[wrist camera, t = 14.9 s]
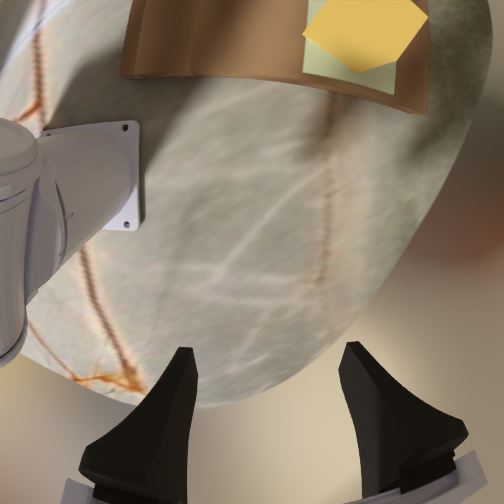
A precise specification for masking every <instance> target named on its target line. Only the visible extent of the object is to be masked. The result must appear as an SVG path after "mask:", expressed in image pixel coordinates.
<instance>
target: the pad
mask: <svg viewBox="0 0 504 504" xmlns="http://www.w3.org/2000/svg"><path fill="white" fill-rule="evenodd" d="M327 1H328V0H308V12H307V25H306V28H307V27H308V25H309V24H310V22H311V21H312V20H313V18H314V17H315V16H316V14H317V13H318V12H319V10H320V9H321V8H322V6H323V5H324V4H325V3H326V2H327ZM302 72H303V73H309V74H314V75H319V76H324V77H329V78H333V79H337V80H342V81H346V82H350V83H353V84H357V85H361V86H364V87H368V88H371V89H375V90H378V91H381V92H384V93H387V94H390V95H394V88H395V75H396V61H395V62H391V63H388V64H385V65H382V66H379V67H376V68H373V69H370V70H367V71H364V72H361V73H358V74H355V73H354V72H353V71H351V70H350V69H349V68H348V67H346V66H345V65H344V64H343V63H341V62H340V61H339V60H337V59H336V58H335V57H333V56H332V55H331V54H329V53H328V52H327V51H325V50H324V49H322V48H321V47H320V46H318V45H317V44H315V43H314V42H312V41H311V40H309V39H308V38H306V37H305V48H304V59H303V69H302Z"/></svg>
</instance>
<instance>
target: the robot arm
mask: <svg viewBox="0 0 504 504" xmlns="http://www.w3.org/2000/svg"><path fill="white" fill-rule="evenodd" d="M125 124H127V125H128V130H127V131H125V130H124V125H125ZM49 134H50V135H51V136H49ZM139 137H140V124H139V123H138V122H137V121H135V120H129V121H115V122H104V123H94V124H86V125H78V126H71V127H64V128H58V129H52V130H47V131H42V132H39V133H38V134H37V136H36V139H35V138H34V136H33V134H32V133H31V132H30V131H29V130H28V129H27V128H25V127H24V126H22V125H20V124H18V123H15V122H13V121H10V120H7V119H3V118H0V369H1V368H3V367H4V366H6V365H7V364H9V363H10V362H11V361H12V360H13V359H14V358H15V357H16V356H17V355H18V353H19V352H20V350H21V348H22V346H23V344H24V342H25V339H26V335H27V329H28V319H27V312H26V306H25V305H27V304H28V303H29V302H30V301H31V300H32V299H33V298H34V296H35V295H36V294H37V293H38V288H40V287H41V286H42V285H43V284H45V283H46V282H47V281H48V280H49V279H50V278H51V277H52V276H53V275H54V274H55V273H56V272H57V271H58V270H59V269H60V268H61V267H62V266H63V265H64V264H65V263H66V262H67V261H68V260H69V259H70V258H71V257H72V256H73V255H74V254H75V253H76V252H77V251H78V250H79V249H80V248H81V247H82V246H83V245H84V244H85V243H86V242H87V241H89V240H90V239H91V238H92V237H93V236H94V235H95V234H96V233H97V232H98V231H100V230H101V229H105V230H123V231H136V230H138V229H139V227H140V224H141V223H140V201H139ZM126 221H127V222H129V224H130V226H127V225H126V223H125V222H126ZM338 370H339V376H340V382H341V387H342V390H343V393H344V396H345V399H346V402H347V405H348V408H349V411H350V414H351V417H352V420H353V424H354V427H355V431H356V437H357V442H358V448H359V456H360V464H361V476H362V498H363V499H361V500H357V501H354V502H349V503H345V504H460V503H461V502H463V501H465V500H466V499H468V498H469V497H471V496H472V495H474V494H475V493H477V492H478V491H480V490H481V489H483V488H484V487H486V486H487V485H488V482H487V479H486V477H485V474H484V472H483V469H482V466H481V464H480V462H479V459H478V457H477V454H476V452H475V450H473V451H471V452H469V453H468V454H466V455H464V456H462V457H460V458H459V459H457V460H456V461H454V460H453V457H454V456H455V453H454V449H455V448H456V447H458V446H459V445H460V444H461V443H462V442H463V441H464V440H465V439H466V438H467V437H468V435H469V433H468V431H467V429H466V427H465V424H464V422H463V421H462V420H460V419H458V418H455V417H453V416H450V415H448V414H446V413H443V412H441V411H439V410H437V409H436V408H433V407H432V406H430V405H429V404H427V403H425V402H424V401H422V400H421V399H419V398H418V397H416V396H415V395H413V394H412V393H411V392H409V391H408V390H407V389H406V388H404V387H403V386H402V385H401V384H400V383H399V382H397V381H396V380H395V379H394V378H393V377H392V376H391V375H390V374H389V373H388V372H387V371H386V370H385V369H384V368H383V367H382V366H381V365H380V364H379V363H378V362H377V361H376V360H375V359H374V357H373V356H372V355H371V354H370V353H369V352H368V351H367V350H366V349H365V348H364V347H363V345H361V343H360V342H359V341H355V342H347V344H346V347H345V350H344V354H343V357H342V360H341V363H340V366H339V369H338ZM197 384H198V372H197V368H196V363H195V358H194V353H193V348H189V347H179V348H178V349H177V351H176V353H175V354H174V356H173V358H172V360H171V361H170V363H169V365H168V366H167V368H166V369H165V371H164V372H163V374H162V375H161V377H160V378H159V380H158V381H157V383H156V384H155V385H154V387H153V388H152V389H151V391H150V392H149V393H148V395H147V396H146V397H145V398H144V399H143V400H142V402H141V403H140V404H139V405H138V406H137V407H136V408H135V409H134V410H133V411H132V412H131V413H130V414H129V415H128V416H127V417H126V418H125V419H124V420H123V421H122V422H121V423H119V424H118V425H117V426H116V427H114V428H113V429H112V430H111V431H109V432H108V433H107V434H105V435H104V436H102V437H101V438H99V439H98V440H96V441H95V442H93V443H91V444H90V445H88V446H87V447H86V449H85V451H84V453H83V455H82V459H81V462H80V465H79V469H78V470H79V471H80V473H81V474H82V475H83V476H85V477H86V478H88V479H89V480H90V481H92V482H93V483H95V487H94V488H92V487H90V486H87V485H84V484H82V483H79V482H77V481H74V480H71V479H69V478H68V479H67V480H66V483H65V488H64V491H63V495H62V499H61V503H60V504H187V458H188V440H189V432H190V427H191V422H192V416H193V411H194V406H195V401H196V395H197Z"/></svg>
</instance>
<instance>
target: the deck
mask: <svg viewBox="0 0 504 504" xmlns="http://www.w3.org/2000/svg"><path fill="white" fill-rule="evenodd" d="M411 1H412V2H413V3H414V4H415V5H416V6H417V7H418V8H419V9H420V10H422V11H423V12H424V13H425V14H426V15H427V16H428V4H427V0H411ZM307 12H308V0H133V2H132V6H131V11H130V15H129V20H128V25H127V30H126V36H125V42H124V48H123V55H122V62H121V70H120V76H121V77H124V78H128V79H131V80H134V79H145V78H159V77H189V76H201V77H232V78H246V79H257V80H267V81H275V82H283V83H290V84H297V85H303V86H308V87H314V88H319V89H324V90H329V91H334V92H338V93H342V94H347V95H351V96H355V97H358V98H362V99H366V100H370V101H373V102H376V103H380V104H383V105H386V106H389V107H393V108H396V109H399V110H402V111H404V112H407V113H410V114H422V115H426V111H427V101H428V87H429V64H430V38H429V17H428V18H427V20H426V21H425V23H424V24H423V25H422V27H421V28H420V29H419V31H418V32H417V34H416V35H415V36H414V38H413V39H412V40H411V42H410V43H409V45H408V46H407V47H406V49H405V50H404V51H403V53H402V54H401V56H400V57H399V58H398V60H397V61H396V75H395V88H394V95H390V94H387V93H384V92H381V91H378V90H375V89H371V88H368V87H364V86H361V85H357V84H353V83H350V82H346V81H342V80H337V79H333V78H329V77H324V76H319V75H314V74H309V73H303V72H302V69H303V59H304V48H305V36H303V35H302V34H303V32H304V31H305V29H306V25H307Z"/></svg>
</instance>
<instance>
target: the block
mask: <svg viewBox="0 0 504 504" xmlns="http://www.w3.org/2000/svg"><path fill="white" fill-rule="evenodd" d="M427 18H428V16H427V15H426V14H425V13H424V12H423V11H422V10H420V9H419V8H418V7H417V6H416V5H415V4H414V3H413V2H412V1H411V0H328V1H327V2H326V3H325V4H324V5H323V6H322V8H321V9H320V10H319V12H318V13H317V14H316V16H315V17H314V18H313V20H312V21H311V22H310V24H309V25H308V27H307V28H306V29H305V31H304V32H303V34H302V35H303V36H305V37H306V38H308V39H309V40H311V41H312V42H314V43H315V44H317V45H318V46H320V47H321V48H322V49H324V50H325V51H327V52H328V53H329V54H331V55H332V56H333V57H335V58H336V59H337V60H339V61H340V62H341V63H343V64H344V65H345V66H346V67H348V68H349V69H350V70H351V71H353V72H354V73H355V74H358V73H361V72H364V71H367V70H370V69H373V68H376V67H379V66H382V65H385V64H388V63H391V62H395V61H397V60H398V58H399V57H400V56H401V54H402V53H403V51H404V50H405V49H406V47H407V46H408V45H409V43H410V42H411V40H412V39H413V38H414V36H415V35H416V34H417V32H418V31H419V29H420V28H421V27H422V25H423V24H424V23H425V21H426V20H427Z"/></svg>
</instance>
